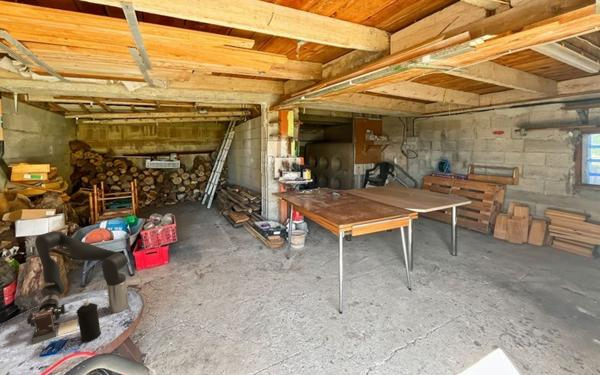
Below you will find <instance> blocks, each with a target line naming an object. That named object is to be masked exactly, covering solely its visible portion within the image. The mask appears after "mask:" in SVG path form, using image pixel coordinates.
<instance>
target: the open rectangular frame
mask: <svg viewBox="0 0 600 375" xmlns="http://www.w3.org/2000/svg"><path fill="white" fill-rule="evenodd" d="M54 324H55V327H56V326H57V327H59V325H60V323H59V321H56V322H55V321H54ZM57 337H58V334H57V331H56V330H55V331H53V332H49V333H46V334H43V335H40V336H38V333H37V328H36V327H35V328H34V330H33V334H32V338H31V341H30V344H31V346H33V345H35V344H36V345H37V344H39V343H41V342H46V341H47V340H51V339H54V338H57Z"/></svg>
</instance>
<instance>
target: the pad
mask: <svg viewBox="0 0 600 375" xmlns="http://www.w3.org/2000/svg"><path fill="white" fill-rule="evenodd" d="M78 325H79V321H78V318H76V319H72V320H69V321H66V322H62V323H59V325H58V332H57V337H58V336H62V335H65V334H68V333H72V332H74V331H77V330H78Z"/></svg>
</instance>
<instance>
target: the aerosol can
mask: <svg viewBox="0 0 600 375" xmlns="http://www.w3.org/2000/svg"><path fill="white" fill-rule="evenodd" d="M75 312H76V314H77V319H78V325H79V326H78V327H79V331H80V341H81V342H82V343H90V342H93V341H95V340H97V339H98V338H99V337H101V335H102V331H101V327H100V326H101V325H100V320H99V312H98V304H96V303H94V302H90V301H89V300H88V299H87V300H84V301H83V304H82V305H81V306H79V307H78V309H77V310H76V311H75Z"/></svg>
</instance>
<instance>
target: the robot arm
mask: <svg viewBox="0 0 600 375" xmlns="http://www.w3.org/2000/svg"><path fill="white" fill-rule="evenodd" d="M34 244H35V248H36V251H37V255H38V257H39V260H40V262H41V266H42V270H43V272H42V274H43V281H44V283H47V284H48V285H45V286H43V287H42V289H41V292H40V294H41V297H42V300H41V302H40V304H39V308H38V311H37V312H35V313H33V312H30V313H29V314H28V316H27V318H26V322H27V325H29V324H30V327H32V328H33V327H36V322H35V315H36V313H38V312H42V311H45V310H50V309H52V311H53V317H54V321H58V320H59V318H60V316H61V315H65V313H66V312H65V311H66V308H65V304H61V306H59V304H60V296H62V295H63V294H64V293H65V291H66V285H65V283H64V282H63V280H62V277H61V271H60V266H59V264H58V262H57V261H55V260H54V259H53V258H52V256H51V255H50V249H53V248H56V247H63V248H65V249H67V251H68V253H69V255H70V256H71V257H73V258H74V259H78V260H81V261H85V262H86V261H87V262H89V261H90V262H93V261H95V262H97V261H102V263H101V270H102V274H103V278H104V280H105V284H106V289H107V298H108V305H109V306H108V307H109V311H110V313H112V314H117V313H121V312H123V311H125V310H127V309H129V308H130V304H129V294H128V287H127V286H128V285H127V277H126V274H124V273H120V272H119V270H121V269H123V268H124V267H126V265H127V264H128V263H129V258H128V257H127V255H125V254H124V253H122V252H119V251H114V250H111V249H106V248H102V247H100V246H96V245H93V244H92V243H91V244H90V243H88V242H85V241H82V240H78V239H77V238H73V237H70V236H68V235H67V234H64V233H63V232H60V231H57V230H53V231H49V232H48V231H47V232H46V233H42V234H39V235H38V236H36V237H35V241H34Z"/></svg>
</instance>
